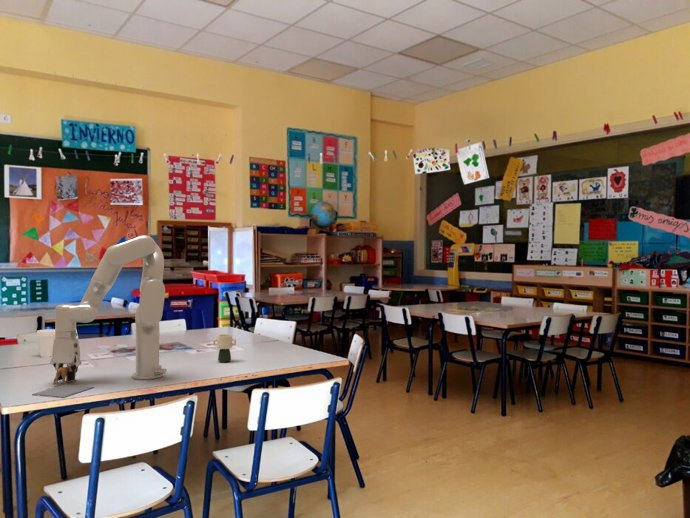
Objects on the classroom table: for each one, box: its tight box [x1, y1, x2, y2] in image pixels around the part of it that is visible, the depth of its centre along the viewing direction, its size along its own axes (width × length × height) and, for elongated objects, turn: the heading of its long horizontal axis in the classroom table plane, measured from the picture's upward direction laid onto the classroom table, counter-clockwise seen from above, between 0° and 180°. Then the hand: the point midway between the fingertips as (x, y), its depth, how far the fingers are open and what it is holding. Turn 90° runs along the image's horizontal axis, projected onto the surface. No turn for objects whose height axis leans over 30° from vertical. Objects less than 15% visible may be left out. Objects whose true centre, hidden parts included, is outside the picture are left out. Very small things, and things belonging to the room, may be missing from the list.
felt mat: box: [31, 383, 95, 399], centre depth 214 cm, size 14×16×1 cm
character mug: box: [212, 333, 237, 363], centre depth 273 cm, size 11×7×13 cm, turn 93°
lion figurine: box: [52, 362, 79, 386], centre depth 227 cm, size 15×5×9 cm, turn 2°
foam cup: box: [36, 328, 55, 358], centre depth 285 cm, size 10×9×13 cm
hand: (65, 379), depth 227 cm, fingers closed on lion figurine, 4 cm apart
